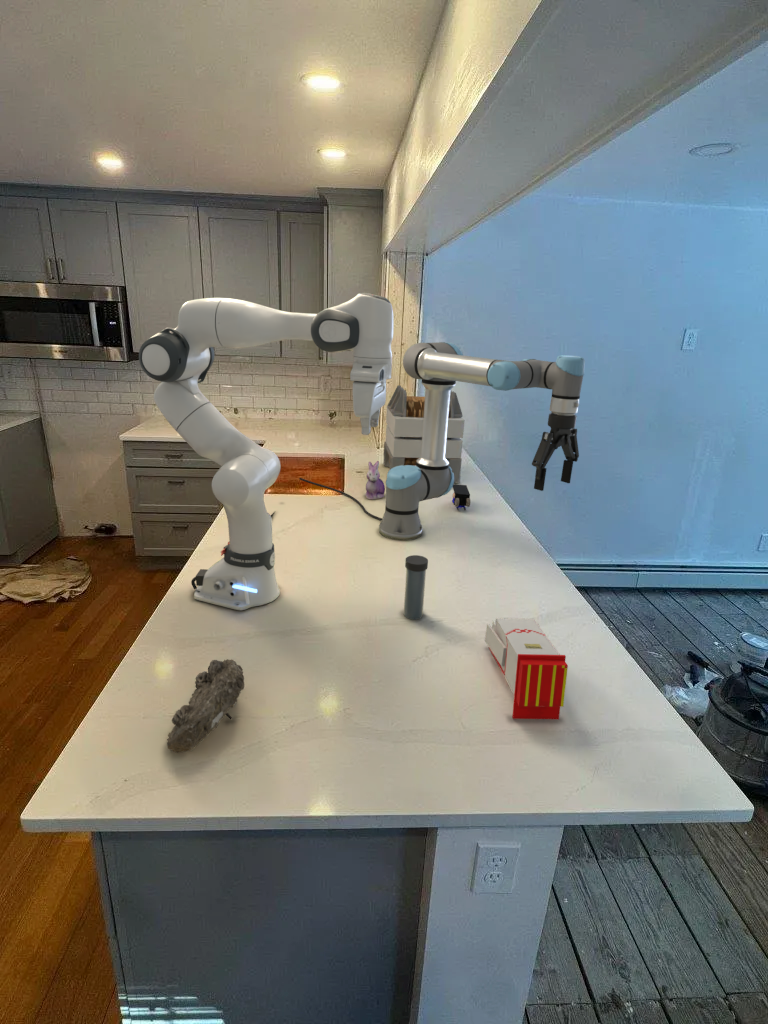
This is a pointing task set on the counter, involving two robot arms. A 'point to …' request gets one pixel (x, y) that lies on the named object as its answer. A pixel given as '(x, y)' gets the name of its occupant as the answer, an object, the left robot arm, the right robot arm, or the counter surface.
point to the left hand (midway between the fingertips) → (370, 430)
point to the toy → (529, 667)
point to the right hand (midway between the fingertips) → (552, 485)
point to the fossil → (206, 705)
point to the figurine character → (461, 496)
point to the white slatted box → (419, 431)
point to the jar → (414, 594)
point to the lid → (416, 563)
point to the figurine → (374, 483)
